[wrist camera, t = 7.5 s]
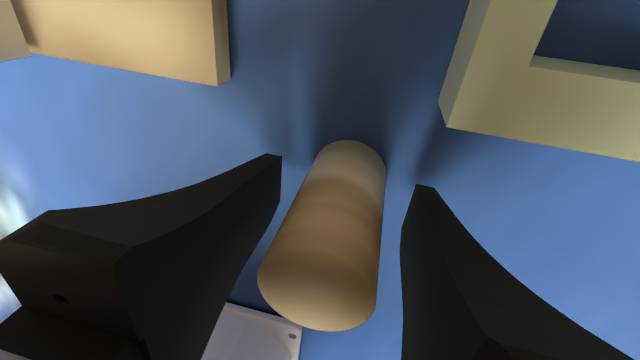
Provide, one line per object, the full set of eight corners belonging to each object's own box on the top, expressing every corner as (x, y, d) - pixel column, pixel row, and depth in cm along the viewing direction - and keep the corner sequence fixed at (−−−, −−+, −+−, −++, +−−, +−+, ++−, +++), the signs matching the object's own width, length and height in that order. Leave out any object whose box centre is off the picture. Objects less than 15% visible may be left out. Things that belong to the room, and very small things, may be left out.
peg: (377, 210, 13) (363, 343, 8) (309, 195, 14) (256, 313, 9) (394, 148, 12) (389, 266, 7) (316, 133, 12) (256, 234, 7)
